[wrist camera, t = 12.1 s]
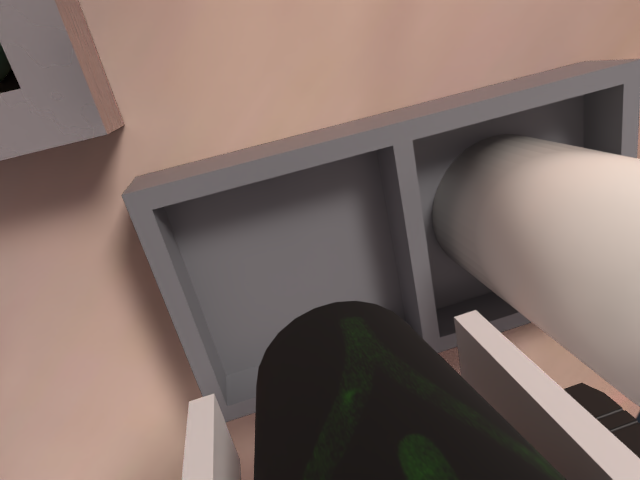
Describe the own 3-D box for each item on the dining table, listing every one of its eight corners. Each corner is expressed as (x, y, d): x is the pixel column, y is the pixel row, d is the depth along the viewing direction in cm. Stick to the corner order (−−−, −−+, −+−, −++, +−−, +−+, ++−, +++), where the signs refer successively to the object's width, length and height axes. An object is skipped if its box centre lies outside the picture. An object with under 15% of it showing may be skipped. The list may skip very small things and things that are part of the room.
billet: (423, 155, 23) (615, 229, 12) (559, 118, 24) (856, 156, 13) (440, 285, 26) (608, 444, 15) (561, 248, 27) (804, 372, 16)
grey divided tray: (136, 176, 21) (121, 194, 18) (585, 61, 24) (641, 59, 21) (215, 382, 26) (214, 425, 23) (583, 266, 29) (630, 290, 25)
